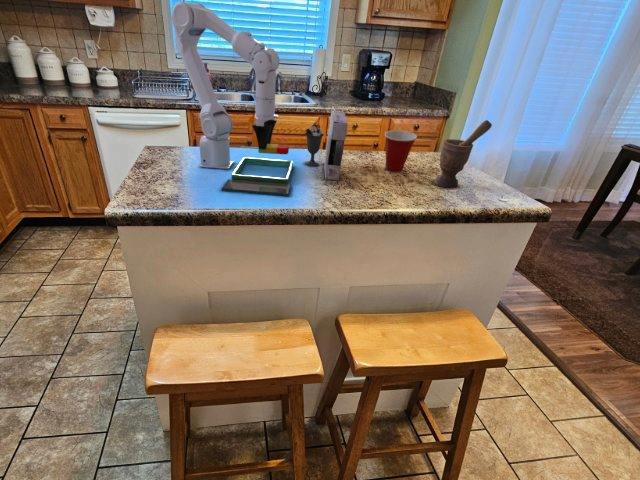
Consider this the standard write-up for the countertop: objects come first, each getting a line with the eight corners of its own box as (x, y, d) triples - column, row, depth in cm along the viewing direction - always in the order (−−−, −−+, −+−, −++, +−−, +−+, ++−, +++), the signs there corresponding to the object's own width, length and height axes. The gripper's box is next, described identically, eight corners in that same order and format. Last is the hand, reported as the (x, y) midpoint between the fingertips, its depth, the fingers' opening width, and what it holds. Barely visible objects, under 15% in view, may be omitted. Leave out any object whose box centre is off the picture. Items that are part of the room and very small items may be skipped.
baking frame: (231, 181, 117) (231, 174, 115) (243, 163, 133) (243, 157, 132) (287, 185, 116) (287, 179, 115) (292, 166, 132) (293, 161, 131)
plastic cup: (375, 171, 133) (382, 134, 126) (381, 163, 141) (387, 128, 134) (406, 176, 130) (415, 139, 123) (411, 168, 138) (419, 132, 131)
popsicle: (288, 155, 118) (288, 148, 117) (239, 152, 118) (239, 145, 117) (288, 150, 123) (289, 144, 121) (242, 148, 122) (241, 141, 121)
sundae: (321, 162, 138) (325, 117, 130) (320, 167, 133) (325, 121, 124) (303, 160, 139) (306, 115, 130) (302, 166, 133) (305, 119, 125)
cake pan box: (340, 182, 121) (348, 121, 111) (324, 181, 121) (331, 120, 111) (337, 164, 137) (344, 110, 126) (323, 163, 137) (329, 109, 127)
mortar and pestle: (461, 180, 129) (481, 116, 117) (473, 189, 122) (496, 121, 110) (428, 180, 128) (446, 114, 116) (439, 188, 121) (459, 120, 109)
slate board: (221, 191, 109) (221, 188, 109) (228, 182, 116) (227, 179, 115) (287, 196, 108) (287, 193, 108) (290, 187, 115) (290, 184, 114)
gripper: (274, 102, 105) (272, 153, 113) (282, 95, 117) (281, 142, 125) (249, 100, 106) (249, 151, 114) (260, 94, 118) (259, 140, 126)
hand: (264, 146), depth 119 cm, fingers closed on popsicle, 6 cm apart
